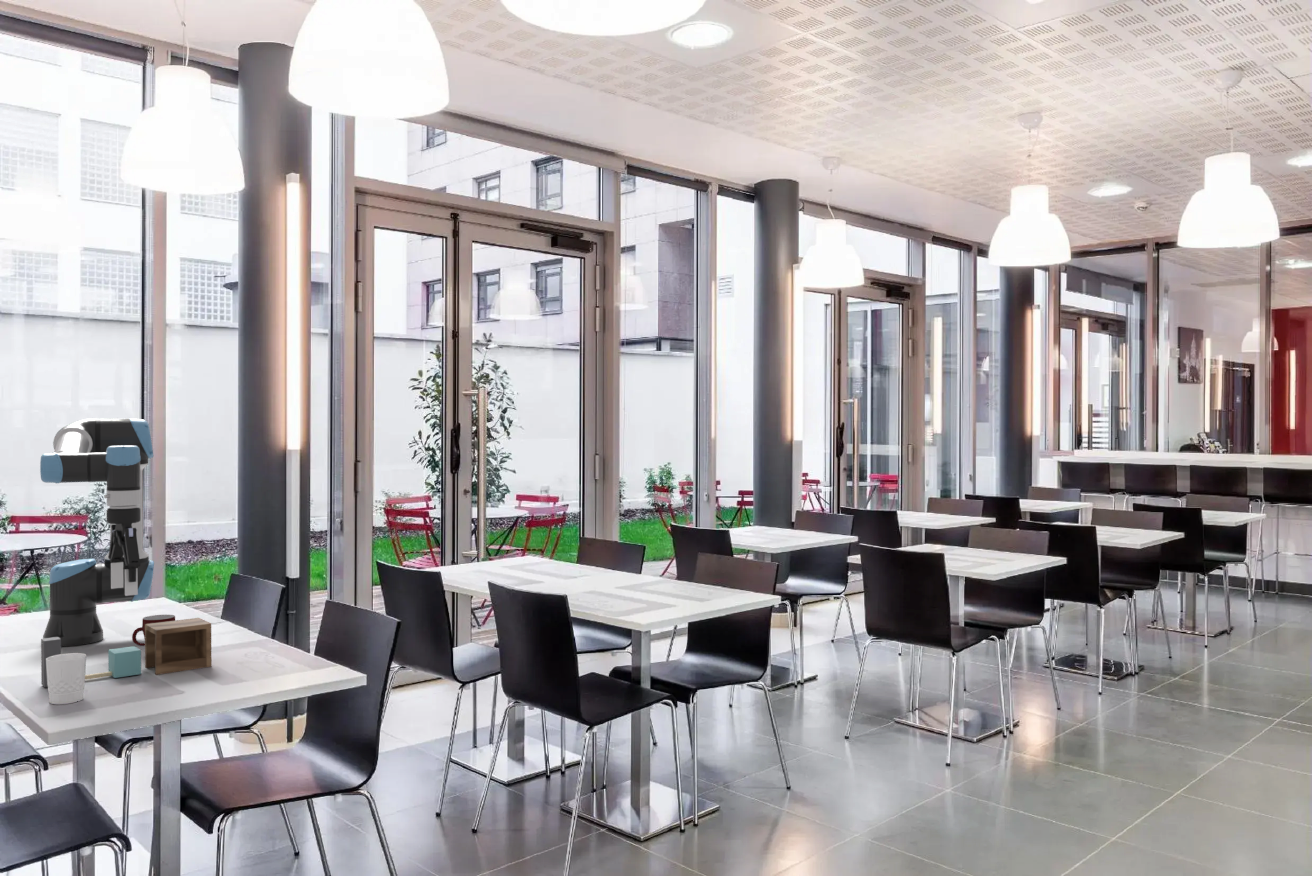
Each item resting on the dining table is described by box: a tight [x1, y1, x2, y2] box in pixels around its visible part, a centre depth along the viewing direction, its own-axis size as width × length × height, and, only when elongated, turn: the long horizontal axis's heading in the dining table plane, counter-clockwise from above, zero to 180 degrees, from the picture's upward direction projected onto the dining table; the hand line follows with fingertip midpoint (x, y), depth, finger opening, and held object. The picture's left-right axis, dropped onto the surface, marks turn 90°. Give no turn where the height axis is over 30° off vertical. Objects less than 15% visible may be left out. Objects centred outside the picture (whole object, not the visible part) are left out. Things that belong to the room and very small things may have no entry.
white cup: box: [46, 652, 87, 705], centre depth 226 cm, size 8×8×10 cm
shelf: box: [144, 617, 213, 676], centre depth 258 cm, size 10×13×11 cm
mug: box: [131, 614, 176, 647], centre depth 272 cm, size 10×8×10 cm
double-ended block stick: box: [40, 637, 142, 688], centre depth 245 cm, size 6×21×11 cm, turn 131°
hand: (124, 591), depth 250 cm, fingers open, 13 cm apart
